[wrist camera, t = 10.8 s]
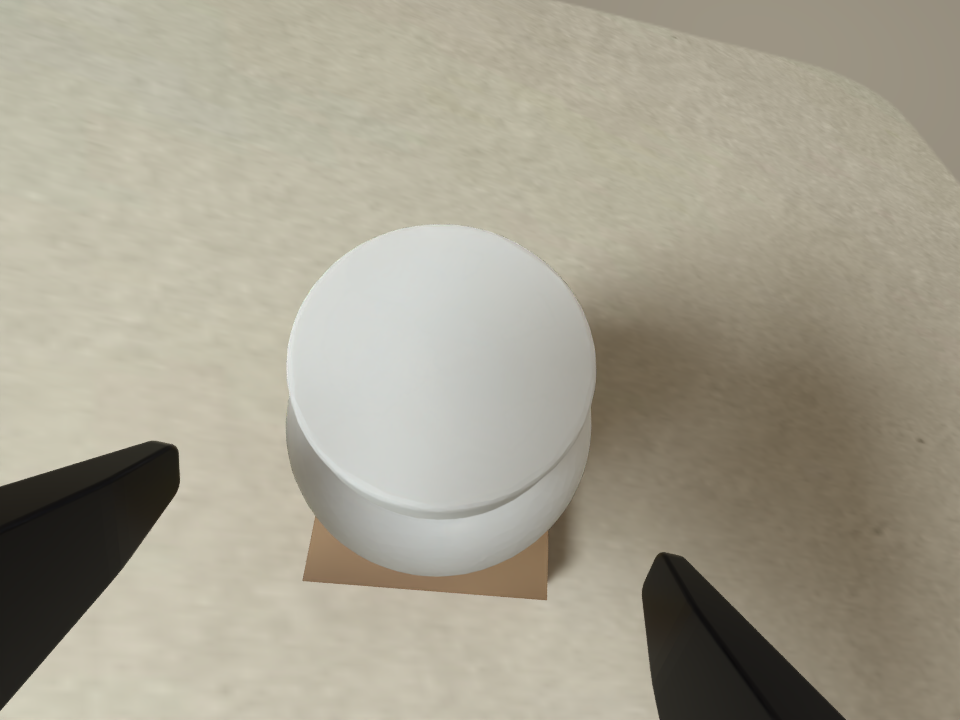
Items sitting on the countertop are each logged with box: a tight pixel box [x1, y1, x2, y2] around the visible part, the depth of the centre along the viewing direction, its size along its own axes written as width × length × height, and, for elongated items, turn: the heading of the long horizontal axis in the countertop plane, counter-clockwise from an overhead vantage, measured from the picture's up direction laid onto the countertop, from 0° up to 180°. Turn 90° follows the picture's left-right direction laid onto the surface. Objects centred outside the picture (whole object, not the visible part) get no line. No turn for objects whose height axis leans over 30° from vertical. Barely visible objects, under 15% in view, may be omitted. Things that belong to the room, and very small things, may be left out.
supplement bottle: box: [286, 224, 596, 577], centre depth 13 cm, size 7×7×13 cm
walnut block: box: [303, 516, 548, 600], centre depth 20 cm, size 9×9×2 cm
